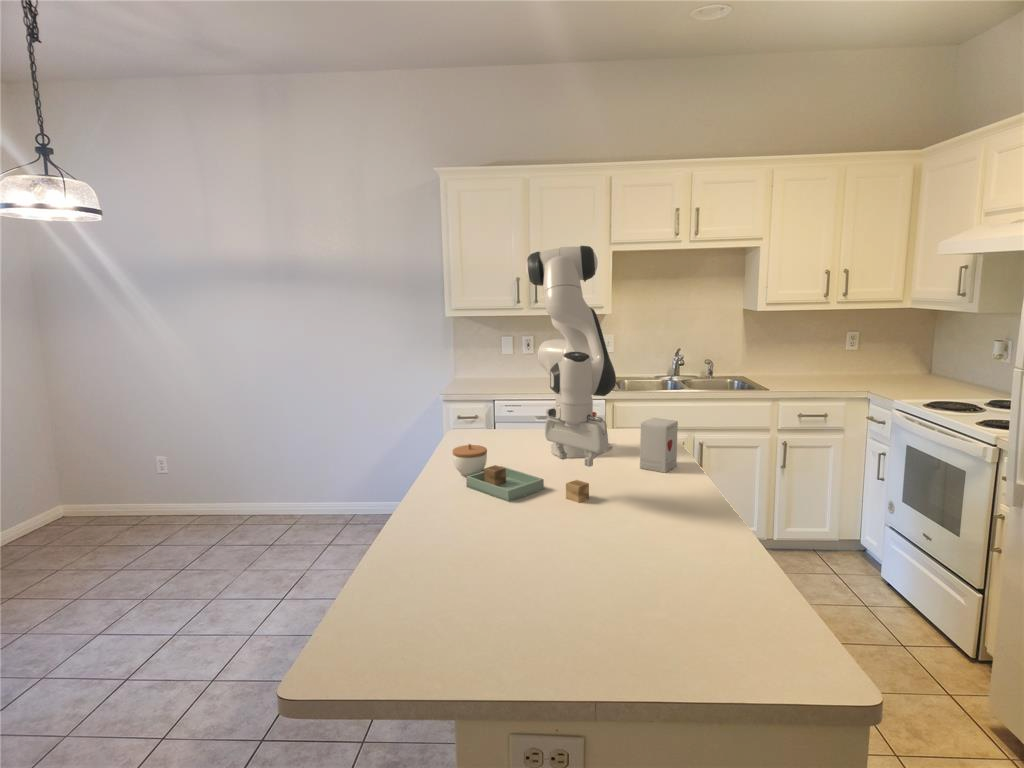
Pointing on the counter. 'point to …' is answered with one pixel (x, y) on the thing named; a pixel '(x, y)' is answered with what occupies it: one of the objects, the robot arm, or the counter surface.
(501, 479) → the walnut block
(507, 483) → the tray
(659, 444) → the supplement box
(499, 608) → the counter surface
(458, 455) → the lidded jar
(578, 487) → the oak block
